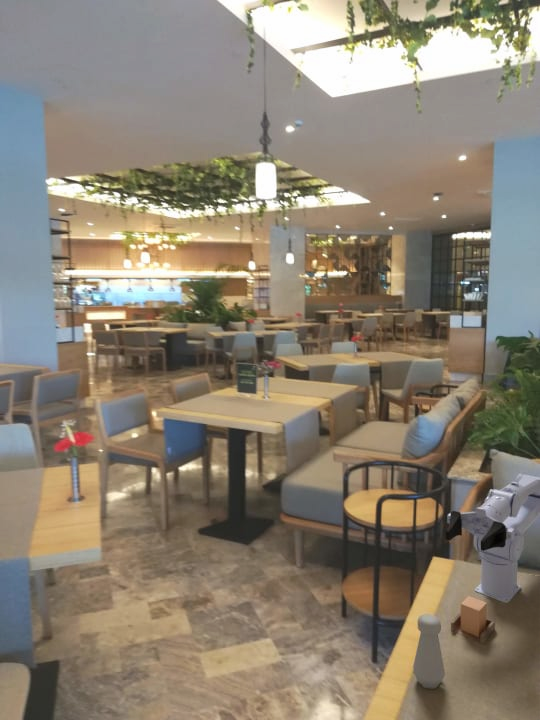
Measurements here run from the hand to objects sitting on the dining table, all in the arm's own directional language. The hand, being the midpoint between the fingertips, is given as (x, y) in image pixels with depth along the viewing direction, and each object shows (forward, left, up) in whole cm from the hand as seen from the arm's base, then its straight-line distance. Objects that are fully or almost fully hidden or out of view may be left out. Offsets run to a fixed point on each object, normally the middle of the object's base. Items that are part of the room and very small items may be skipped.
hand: (464, 540), depth 114 cm
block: (-1, +2, -20) cm, 20 cm away
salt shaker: (+19, +2, -21) cm, 28 cm away
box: (-1, +2, -21) cm, 21 cm away
